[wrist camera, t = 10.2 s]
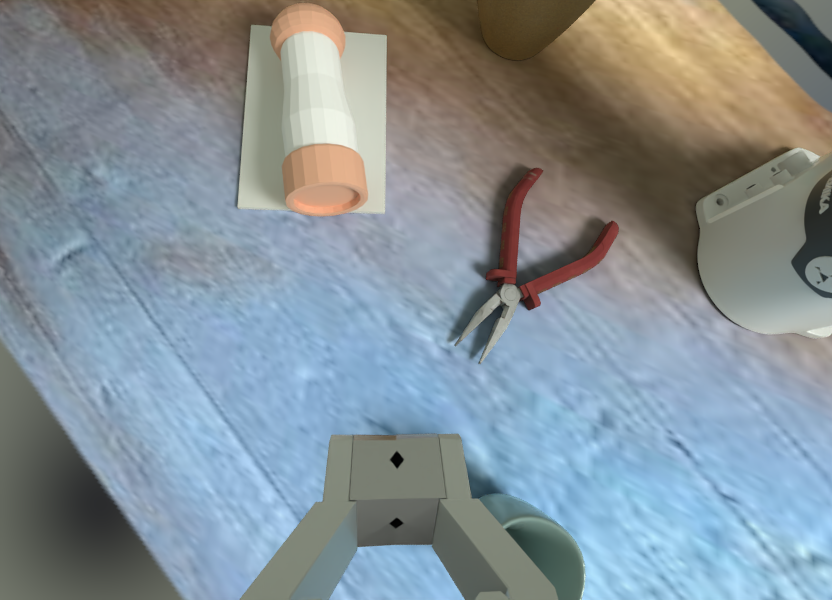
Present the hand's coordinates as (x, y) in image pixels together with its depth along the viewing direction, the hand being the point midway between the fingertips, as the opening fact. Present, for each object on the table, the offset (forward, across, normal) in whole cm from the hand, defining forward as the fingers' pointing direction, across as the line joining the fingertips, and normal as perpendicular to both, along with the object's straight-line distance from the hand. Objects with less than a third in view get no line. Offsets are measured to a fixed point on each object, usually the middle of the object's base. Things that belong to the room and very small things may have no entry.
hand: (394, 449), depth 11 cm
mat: (+42, +7, +3) cm, 43 cm away
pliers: (+33, -14, +13) cm, 38 cm away
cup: (+14, -10, +30) cm, 35 cm away
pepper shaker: (+31, +5, +7) cm, 33 cm away
